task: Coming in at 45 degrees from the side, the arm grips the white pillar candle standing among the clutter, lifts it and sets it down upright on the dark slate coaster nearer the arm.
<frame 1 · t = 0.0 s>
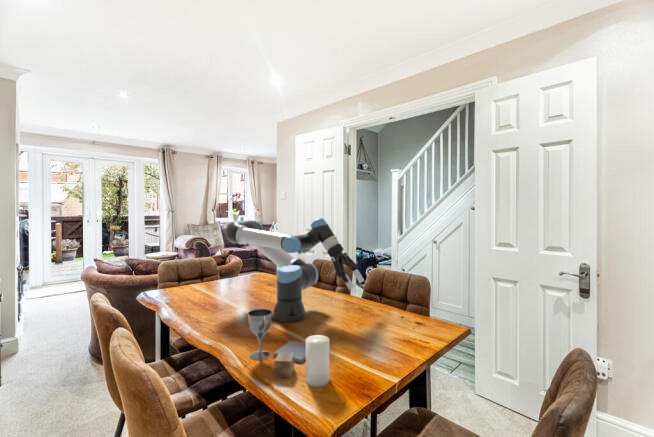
hand: (357, 285, 144), 15 cm above the table, tool tilted 35°, fingers open, 13 cm apart
white pillar candle: (317, 379, 91), on the table
coaster: (295, 352, 108), on the table
wine glass: (260, 355, 107), on the table
walnut block: (284, 373, 95), on the table
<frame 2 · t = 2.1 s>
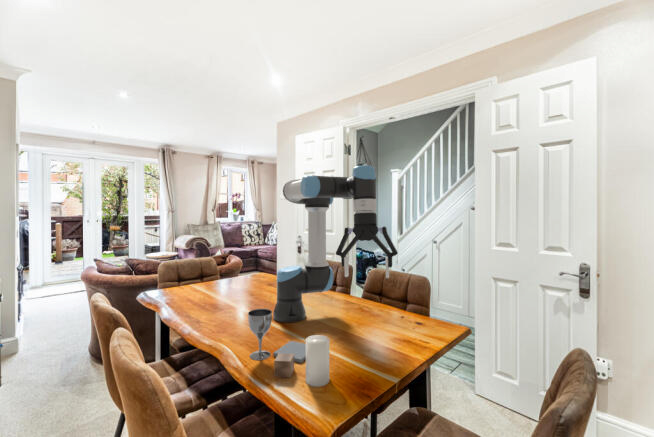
hand: (366, 277, 102), 28 cm above the table, tool pointing down, fingers open, 13 cm apart
nothing on the table moved.
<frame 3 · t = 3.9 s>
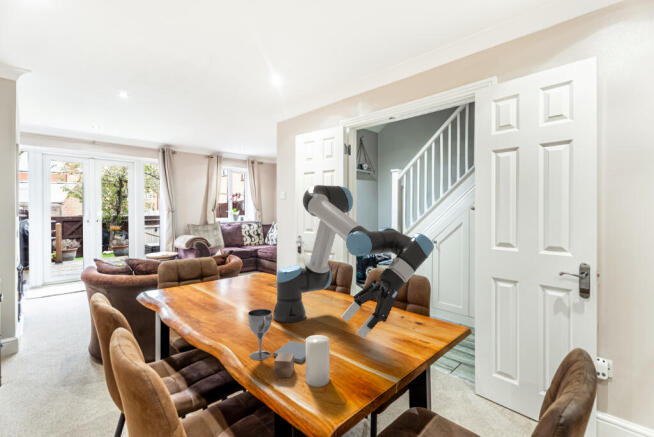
hand: (351, 327, 94), 15 cm above the table, tool tilted 45°, fingers open, 13 cm apart
nothing on the table moved.
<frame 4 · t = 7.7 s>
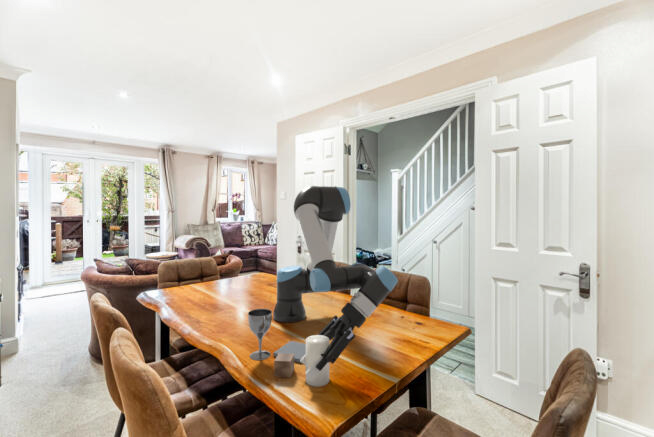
hand: (305, 369, 90), 4 cm above the table, tool tilted 45°, fingers closed on white pillar candle, 7 cm apart
white pillar candle: (317, 379, 91), on the table, touching gripper
everything else where it was.
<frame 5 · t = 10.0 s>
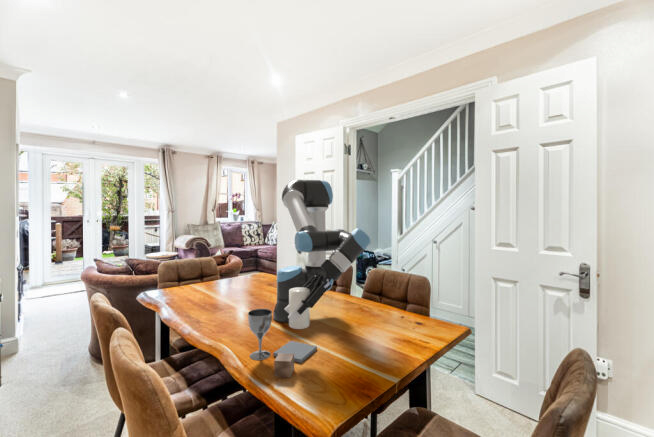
hand: (289, 315, 104), 15 cm above the table, tool tilted 45°, fingers closed on white pillar candle, 7 cm apart
white pillar candle: (299, 324, 105), point 11 cm above the table, touching gripper
everything else where it was.
when the fingers open (6 cm above the table, at t = 12.4 s): white pillar candle drops 1 cm, resting on coaster.
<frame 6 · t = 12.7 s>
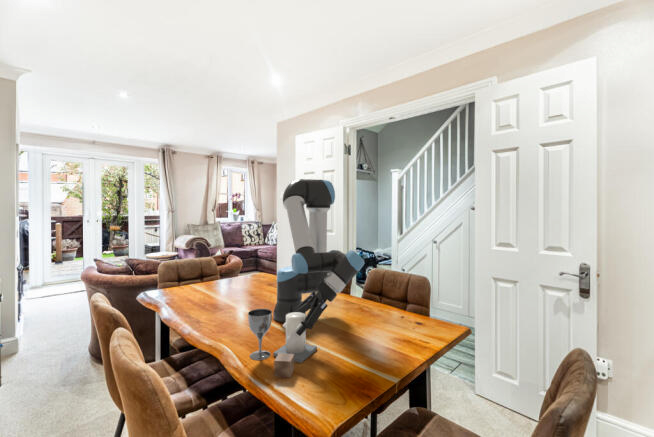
hand: (287, 334, 108), 7 cm above the table, tool tilted 45°, fingers open, 11 cm apart
white pillar candle: (295, 349, 109), point 1 cm above the table, touching coaster
everything else where it was.
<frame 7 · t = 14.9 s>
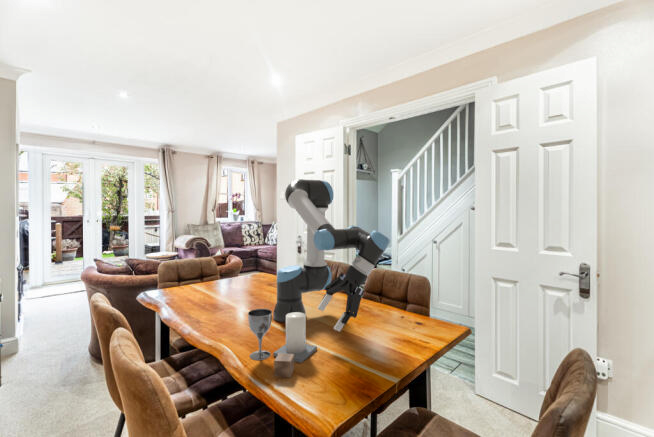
hand: (327, 319, 112), 11 cm above the table, tool tilted 35°, fingers open, 13 cm apart
nothing on the table moved.
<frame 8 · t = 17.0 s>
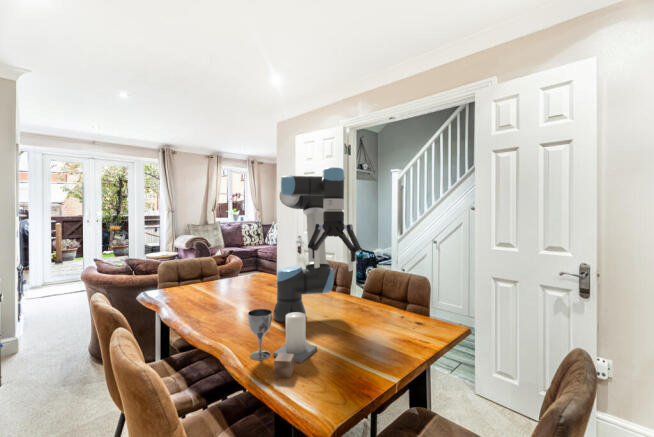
hand: (333, 269, 112), 29 cm above the table, tool pointing down, fingers open, 13 cm apart
nothing on the table moved.
at the end: white pillar candle inside the target area on the coaster (0.1 cm from its centre), point 1.2 cm above the coaster's base; white pillar candle tilted 0°; the gripper is holding nothing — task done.
